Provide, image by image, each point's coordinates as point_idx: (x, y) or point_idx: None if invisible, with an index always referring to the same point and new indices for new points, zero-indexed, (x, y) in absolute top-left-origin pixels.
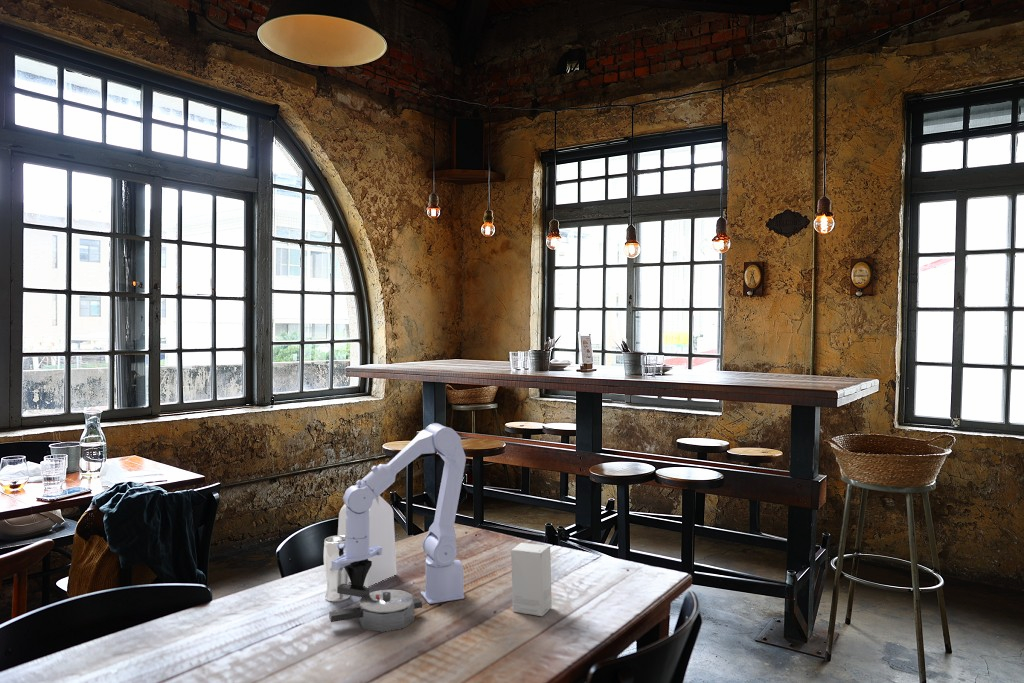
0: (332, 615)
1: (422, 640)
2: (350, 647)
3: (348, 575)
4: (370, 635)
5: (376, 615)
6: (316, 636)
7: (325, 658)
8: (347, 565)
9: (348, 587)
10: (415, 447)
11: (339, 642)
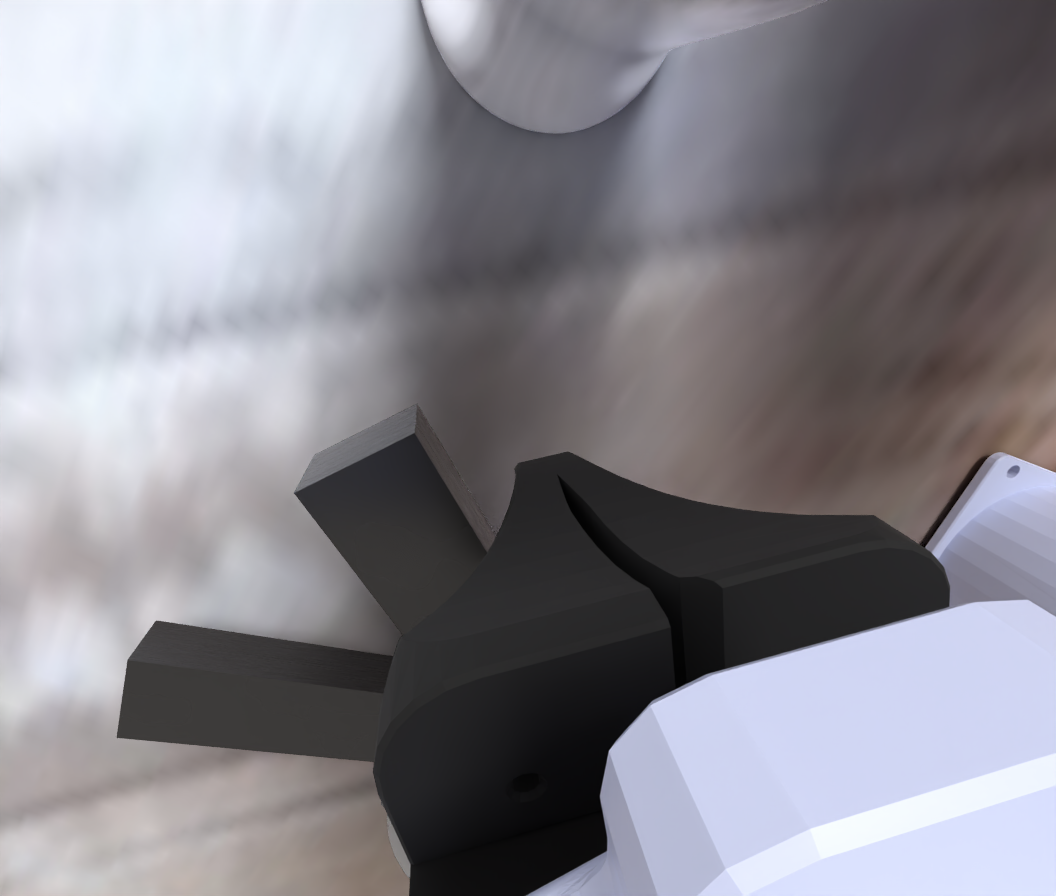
0: (133, 732)
1: None
2: (217, 837)
3: (489, 550)
4: None
5: None
6: (53, 645)
7: (36, 882)
8: (415, 854)
9: (409, 599)
10: None
11: (180, 772)
